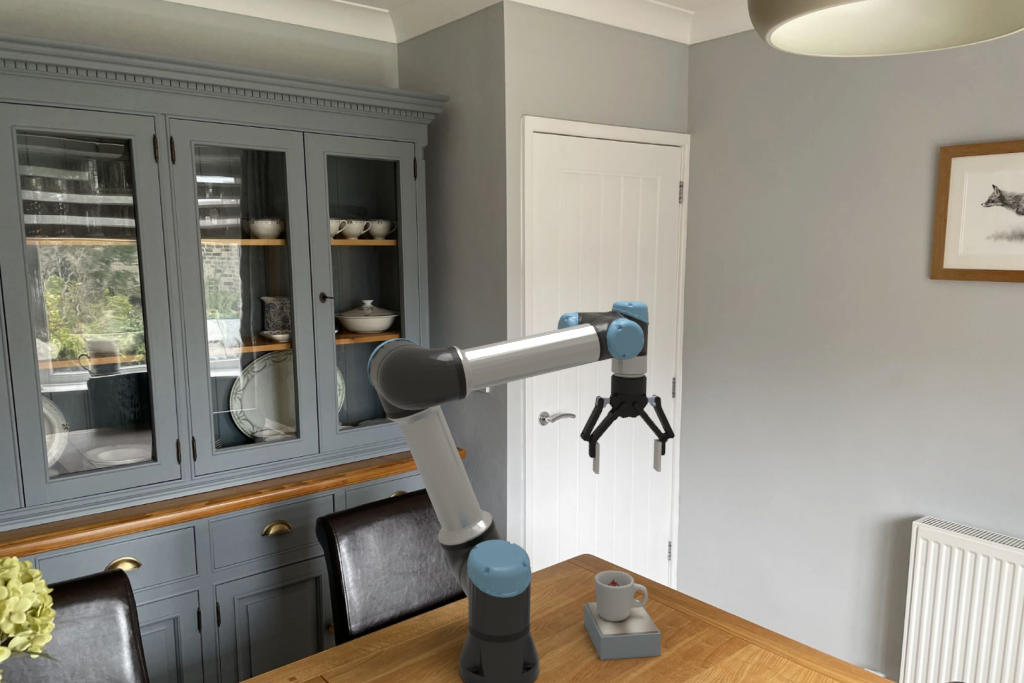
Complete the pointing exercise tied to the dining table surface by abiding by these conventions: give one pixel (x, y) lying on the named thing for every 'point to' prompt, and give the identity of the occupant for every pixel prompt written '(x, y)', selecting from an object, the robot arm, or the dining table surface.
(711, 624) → the dining table surface
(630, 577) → the cup
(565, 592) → the dining table surface
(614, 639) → the grey flat block
